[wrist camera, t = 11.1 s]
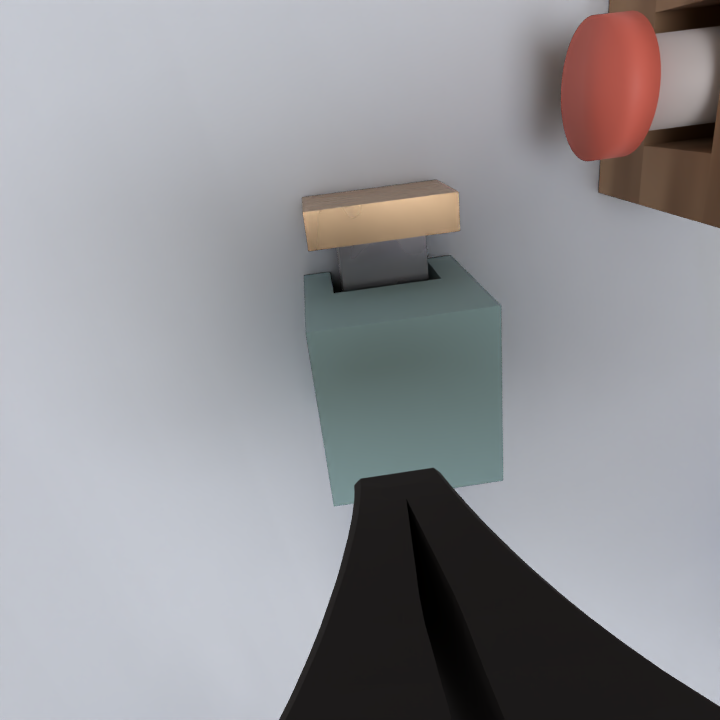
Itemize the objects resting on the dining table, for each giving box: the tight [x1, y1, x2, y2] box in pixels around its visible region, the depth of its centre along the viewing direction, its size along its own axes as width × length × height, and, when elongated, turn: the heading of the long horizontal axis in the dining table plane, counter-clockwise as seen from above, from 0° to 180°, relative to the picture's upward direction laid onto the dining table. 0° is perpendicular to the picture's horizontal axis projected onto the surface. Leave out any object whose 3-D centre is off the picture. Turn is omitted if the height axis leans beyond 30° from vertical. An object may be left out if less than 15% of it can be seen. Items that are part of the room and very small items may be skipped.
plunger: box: [561, 10, 720, 161], centre depth 13 cm, size 5×3×3 cm, turn 97°
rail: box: [302, 180, 460, 292], centre depth 19 cm, size 4×17×3 cm, turn 6°
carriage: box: [304, 256, 503, 506], centre depth 17 cm, size 5×5×5 cm
